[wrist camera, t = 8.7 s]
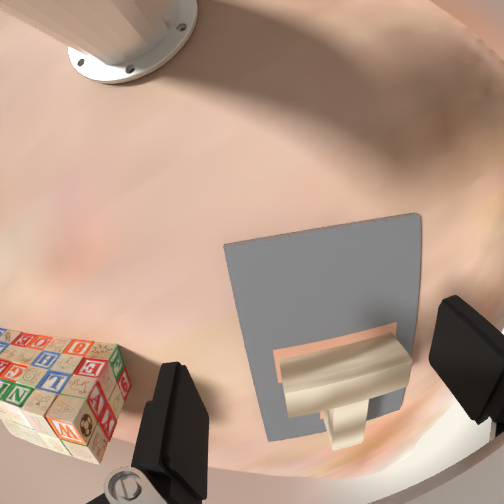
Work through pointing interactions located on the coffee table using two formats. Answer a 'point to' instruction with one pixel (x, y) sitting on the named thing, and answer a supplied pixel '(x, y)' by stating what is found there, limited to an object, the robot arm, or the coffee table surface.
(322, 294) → the board
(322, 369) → the T block
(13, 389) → the stack of blocks
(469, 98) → the coffee table surface
